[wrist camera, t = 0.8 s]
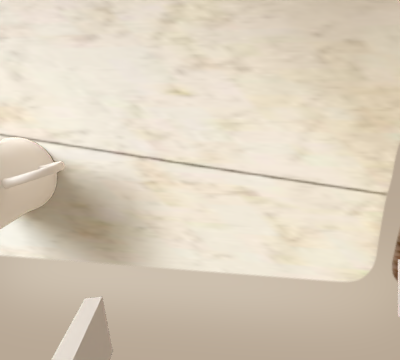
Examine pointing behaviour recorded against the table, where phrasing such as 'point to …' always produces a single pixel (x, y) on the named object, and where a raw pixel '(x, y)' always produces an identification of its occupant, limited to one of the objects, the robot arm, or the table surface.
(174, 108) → the table surface
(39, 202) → the mug
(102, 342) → the robot arm
